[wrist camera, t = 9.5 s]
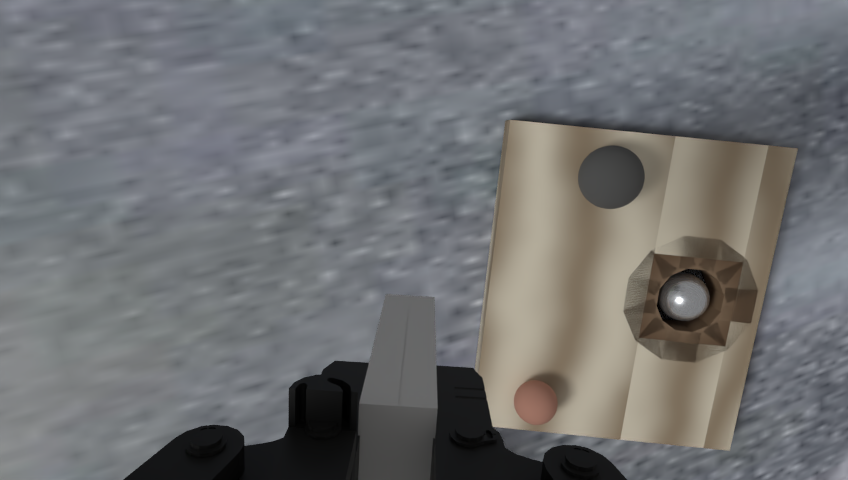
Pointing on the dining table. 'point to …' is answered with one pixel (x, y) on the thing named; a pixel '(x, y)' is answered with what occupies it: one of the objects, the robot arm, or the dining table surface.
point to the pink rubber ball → (535, 402)
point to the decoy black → (611, 177)
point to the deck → (628, 283)
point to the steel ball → (683, 297)
